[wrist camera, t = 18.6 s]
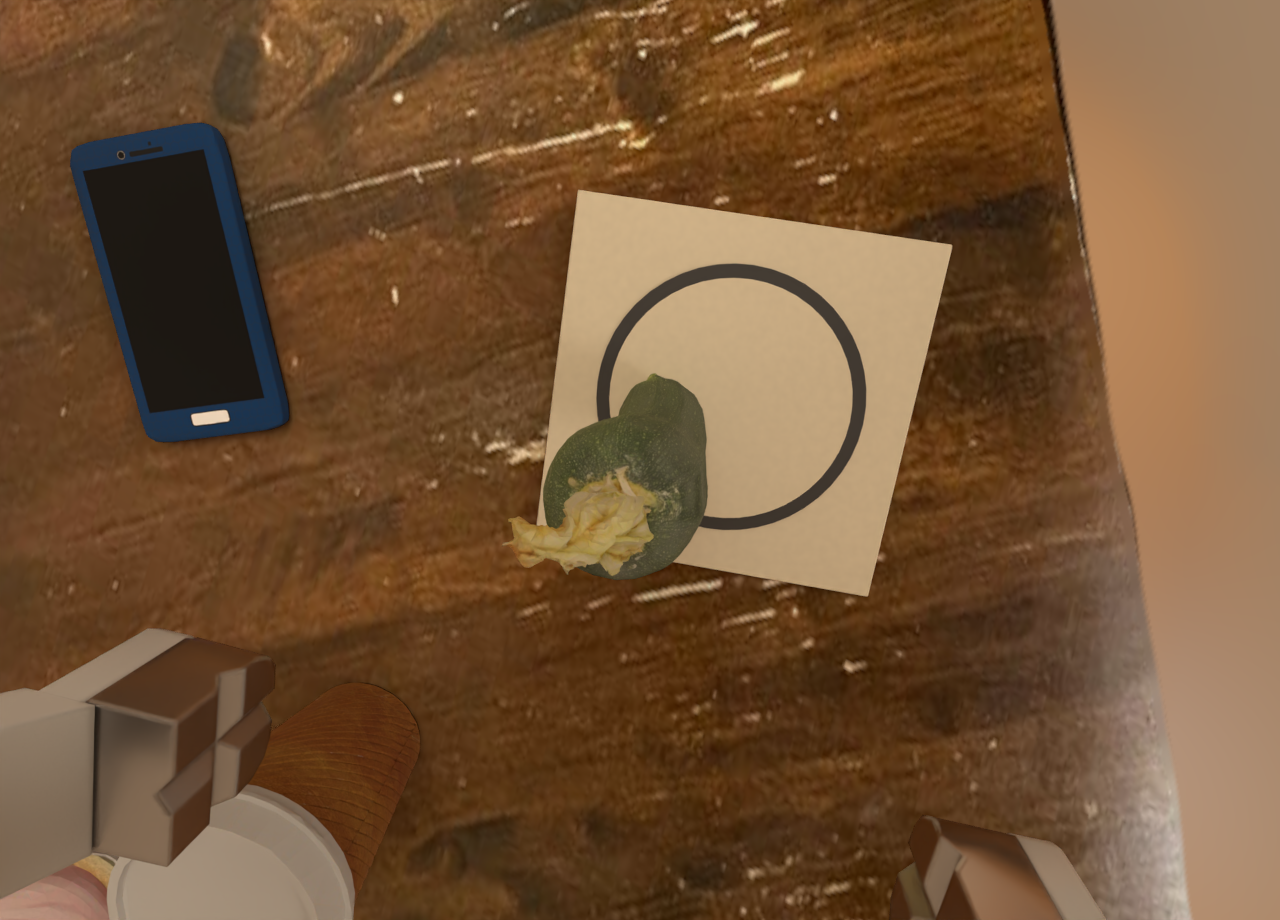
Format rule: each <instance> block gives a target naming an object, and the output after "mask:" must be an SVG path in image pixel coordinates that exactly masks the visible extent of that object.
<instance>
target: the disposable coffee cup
mask: <svg viewBox="0 0 1280 920" xmlns="http://www.w3.org/2000/svg"><path fill="white" fill-rule="evenodd" d="M419 751H420V735H419V730H418V726H417V723H416V721H415V719H414V718H413V716H412V714H411V713H410V711H409V710H408V708H407V707H406V706H405V705H404V704H403V703H402V702H401V701H400V700H399V699H398V698H397V697H395V696H394V695H393V694H391V693H389V692H387V691H385V690H384V689H382V688H379V687H377V686H374V685H370V684H365V683H346V684H341V685H338V686H336V687H333V688H331V689H329V690H328V691H326V692H325V693H324V694H322V695H321V696H320V697H318V698H317V699H316V700H314V701H313V702H312V703H310V704H309V705H308V706H306V707H305V708H303V709H302V710H301V711H299V712H298V713H297V714H295V715H294V716H292V717H291V718H290V719H288V720H287V721H286V722H284V723H283V724H281V725H280V726H279V727H277V728H276V729H274V730H273V731H271V733H270V739H269V743H268V746H267V750H266V753H265V756H264V758H263V760H262V762H261V764H260V765H259V767H258V769H257V771H256V773H255V774H254V776H253V778H252V780H251V781H250V782H249V783H248V784H247V785H246V786H245V787H244V788H243V790H242V791H241V792H240V793H239V794H238V795H237V796H236V797H235V798H232V799H230V800H227V801H225V802H222V803H220V804H217V805H215V806H212V807H211V811H210V824H209V825H208V826H207V827H206V828H205V829H204V830H203V831H202V832H201V833H200V834H199V835H198V836H197V837H196V838H195V839H194V840H193V841H192V842H191V843H190V844H189V845H188V846H187V847H186V848H185V849H184V851H183V852H182V853H181V854H180V855H179V856H178V857H177V858H176V859H175V860H174V861H173V862H172V863H171V864H170V865H169V866H168V867H163V866H159V865H155V864H150V863H146V862H141V861H137V860H132V859H128V858H123V857H119V858H118V860H117V862H116V864H115V866H114V868H113V869H112V871H111V874H110V879H109V883H108V887H107V906H108V913H109V919H110V920H353V914H354V903H355V902H356V899H357V896H358V892H359V891H360V890H361V888H362V885H363V883H364V879H365V878H366V876H367V873H368V871H369V867H371V865H372V862H373V860H374V856H375V855H376V853H377V850H378V848H379V845H380V844H381V842H382V839H383V835H385V832H386V830H387V827H388V825H389V823H390V820H391V818H392V815H393V814H394V812H395V809H396V806H397V805H398V802H399V799H400V797H401V795H402V793H403V790H404V788H405V786H406V783H407V781H408V779H409V777H410V774H411V771H412V770H413V768H414V765H415V763H416V761H417V759H418V755H419Z"/></svg>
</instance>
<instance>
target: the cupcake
mask: <svg viewBox="0 0 1280 920" xmlns="http://www.w3.org/2000/svg"><path fill="white" fill-rule="evenodd" d="M118 858H119V856H115V855H110V854H106V853H101V852H97V851H92V854H91V855H90V856H88V857H86V858H84V859H82V860H80V861H78V862H76V863H74V864H72V865H70V866H68V867H66V868H64V869H62V870H60V871H58V872H55V873H53V874H51V875H49V876H47V877H45V878H43V879H41V880H39V881H37V882H35V883H33V884H31V885H29V886H27V887H25V888H23V889H21V890H19V891H16V892H14V893H12V894H10V895H8V896H6V897H4V898H2V899H0V920H110V919H109V913H108V906H107V887H108V883H109V879H110V874H111V871H112V869H113V868H114V866H115V864H116V862H117V860H118Z"/></svg>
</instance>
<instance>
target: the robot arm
mask: <svg viewBox="0 0 1280 920" xmlns="http://www.w3.org/2000/svg"><path fill="white" fill-rule="evenodd" d="M275 667H276V665H275V663H274V662H273V661H272V659H271V658H270V657H269V656H266V655H262V654H259V653H255V652H251V651H247V650H244V649H240V648H236V647H232V646H228V645H225V644H221V643H217V642H213V641H210V640H206V639H202V638H198V637H197V638H195V637H193V636H191V635H187V634H182V633H178V632H174V631H170V630H165V629H161V628H160V629H146V630H145V631H143V632H141V633H139V634H138V635H136V636H134V637H132V638H131V639H129V640H127V641H125V642H124V643H122V644H120V645H118V646H117V647H115V648H113V649H111V650H109V651H108V652H106V653H104V654H102V655H101V656H99V657H97V658H95V659H94V660H92V661H90V662H88V663H87V664H85V665H83V666H81V667H80V668H78V669H76V670H74V671H72V672H71V673H69V674H67V675H65V676H64V677H62V678H60V679H58V680H57V681H55V682H53V683H51V684H50V685H48V686H46V687H44V688H43V689H41V690H39V691H36V690H32V689H28V688H23V689H18V690H13V691H9V692H4V693H0V899H2V898H4V897H6V896H8V895H10V894H12V893H14V892H16V891H19V890H21V889H23V888H25V887H27V886H29V885H31V884H33V883H35V882H37V881H39V880H41V879H43V878H45V877H47V876H49V875H51V874H53V873H55V872H58V871H60V870H62V869H64V868H66V867H68V866H70V865H72V864H74V863H76V862H78V861H80V860H82V859H84V858H86V857H88V856H90V855H91V854H92V851H97V852H101V853H106V854H110V855H115V856H119V857H123V858H128V859H132V860H137V861H141V862H146V863H150V864H155V865H159V866H163V867H168V866H169V865H170V864H171V863H172V862H173V861H174V860H175V859H176V858H177V857H178V856H179V855H180V854H181V853H182V852H183V851H184V849H185V848H186V847H187V846H188V845H189V844H190V843H191V842H192V841H193V840H194V839H195V838H196V837H197V836H198V835H199V834H200V833H201V832H202V831H203V830H204V829H205V828H206V827H207V826H208V825H209V824H210V811H211V807H212V806H215V805H217V804H220V803H222V802H225V801H227V800H230V799H232V798H235V797H236V796H237V795H238V794H239V793H240V792H241V791H242V790H243V788H244V787H245V786H246V785H247V784H248V783H249V782H250V781H251V780H252V778H253V776H254V774H255V773H256V771H257V769H258V767H259V765H260V764H261V762H262V760H263V758H264V756H265V753H266V750H267V746H268V743H269V739H270V733H271V723H272V719H271V717H270V716H269V714H268V712H267V710H266V708H265V707H264V705H263V703H262V700H263V699H264V698H265V697H266V696H267V695H268V694H269V693H270V692H271V691H273V690H274V689H275ZM908 843H909V846H910V849H911V852H912V855H913V858H914V860H915V862H914V863H913V864H911V865H910V866H908V867H907V868H905V869H904V870H903V871H901V872H900V873H898V875H897V878H896V882H895V885H894V888H893V892H892V895H891V900H890V913H889V920H1107V919H1106V918H1105V916H1104V915H1103V913H1102V911H1101V910H1100V908H1099V907H1098V905H1097V904H1096V902H1095V901H1094V899H1093V897H1092V896H1091V894H1090V893H1089V891H1088V890H1087V888H1086V886H1085V885H1084V883H1083V882H1082V880H1081V879H1080V877H1079V875H1078V874H1077V872H1076V871H1075V869H1074V868H1073V866H1072V864H1071V863H1070V861H1069V860H1068V858H1067V857H1066V855H1065V854H1064V852H1063V850H1061V849H1060V848H1059V847H1058V846H1056V845H1055V844H1054V843H1052V842H1050V841H1045V840H1040V839H1035V838H1030V837H1026V836H1021V835H1016V834H1011V833H1007V834H1006V833H1002V832H997V831H993V830H989V829H984V828H980V827H975V826H971V825H966V824H962V823H957V822H953V821H948V820H944V819H940V818H935V817H931V816H926V815H922V816H921V817H920V818H919V820H918V821H917V822H916V824H915V825H914V828H913V831H912V834H911V837H910V839H909V842H908Z"/></svg>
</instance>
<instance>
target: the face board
mask: <svg viewBox="0 0 1280 920" xmlns="http://www.w3.org/2000/svg"><path fill="white" fill-rule="evenodd" d="M951 250H952V245H950V244H943V243H937V242H930V241H923V240H916V239H909V238H903V237H896V236H889V235H882V234H875V233H869V232H862V231H855V230H848V229H841V228H835V227H828V226H821V225H814V224H807V223H801V222H794V221H787V220H780V219H773V218H767V217H760V216H753V215H746V214H739V213H733V212H726V211H719V210H712V209H705V208H699V207H692V206H685V205H678V204H671V203H665V202H658V201H651V200H644V199H637V198H631V197H624V196H617V195H610V194H603V193H597V192H590V191H583V190H578V193H577V201H576V209H575V217H574V225H573V233H572V241H571V249H570V257H569V266H568V274H567V282H566V290H565V298H564V306H563V314H562V322H561V330H560V338H559V347H558V355H557V363H556V371H555V379H554V387H553V395H552V403H551V411H550V419H549V428H548V436H547V444H546V452H545V460H544V468H543V476H542V484H541V492H540V500H539V509H538V517H537V526H539V525H543V526H546V525H547V523H546V518H545V511H544V503H543V487H544V483H545V480H546V476H547V473H548V470H549V467H550V465H551V463H552V461H553V459H554V457H555V455H556V454H557V452H558V450H559V449H560V448H561V447H562V445H563V444H564V443H565V442H566V440H567V439H568V438H569V437H570V436H572V435H573V434H574V433H576V432H577V431H578V430H580V429H582V428H584V427H587V426H589V425H591V424H593V423H596V422H598V421H601V420H605V419H609V418H612V417H616V416H618V415H619V410H620V408H621V406H622V404H623V402H624V400H625V398H626V397H627V395H628V393H629V392H630V390H631V389H632V388H633V387H634V386H635V385H636V384H638V383H641V382H643V381H646V380H647V379H648V377H649V375H651V374H653V373H656V374H657V375H658V376H661V377H663V378H667V379H673V380H675V381H678V382H679V383H680V384H681V385H683V386H684V387H685V388H686V389H688V390H689V391H690V392H692V393H693V394H694V395H695V396H696V398H697V399H698V402H699V404H700V405H701V407H702V409H703V414H704V420H705V428H706V437H707V443H706V452H705V454H706V476H707V484H708V498H707V506H706V509H705V513H704V516H703V519H702V521H701V523H700V525H699V527H698V529H697V530H696V532H695V534H694V536H693V537H692V539H691V541H690V543H689V544H688V545H687V546H686V548H685V549H684V550H683V552H682V553H681V554H680V556H679V557H677V558H676V559H675V560H674V561H673V562H676V563H681V564H687V565H693V566H698V567H704V568H709V569H715V570H721V571H726V572H732V573H737V574H743V575H749V576H754V577H760V578H765V579H771V580H777V581H782V582H788V583H793V584H799V585H805V586H810V587H816V588H821V589H827V590H832V591H838V592H844V593H849V594H855V595H860V596H866V597H867V596H868V594H869V590H870V585H871V581H872V577H873V573H874V569H875V565H876V561H877V556H878V552H879V548H880V544H881V540H882V536H883V532H884V527H885V523H886V519H887V515H888V511H889V507H890V503H891V499H892V494H893V490H894V486H895V482H896V478H897V474H898V470H899V465H900V461H901V457H902V453H903V449H904V445H905V441H906V436H907V432H908V428H909V424H910V420H911V416H912V412H913V408H914V403H915V399H916V395H917V391H918V387H919V383H920V379H921V374H922V370H923V366H924V362H925V358H926V354H927V350H928V345H929V341H930V337H931V333H932V329H933V325H934V321H935V316H936V312H937V308H938V304H939V300H940V296H941V292H942V288H943V283H944V279H945V275H946V271H947V267H948V263H949V259H950V254H951Z"/></svg>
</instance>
